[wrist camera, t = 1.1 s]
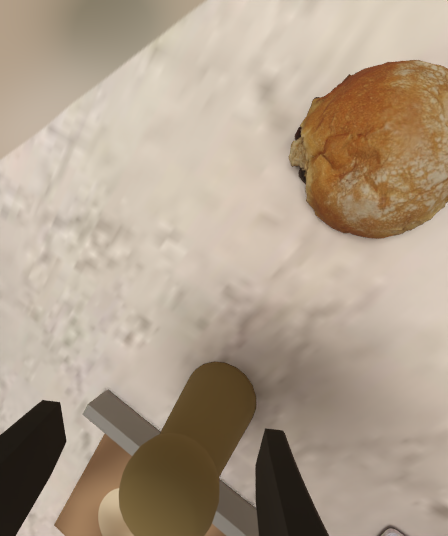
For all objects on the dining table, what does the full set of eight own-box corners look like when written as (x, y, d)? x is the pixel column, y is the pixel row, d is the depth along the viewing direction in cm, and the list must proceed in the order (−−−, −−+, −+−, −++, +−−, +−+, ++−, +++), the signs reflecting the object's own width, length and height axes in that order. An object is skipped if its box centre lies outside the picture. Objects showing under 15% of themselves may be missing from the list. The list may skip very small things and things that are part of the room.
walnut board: (236, 526, 25) (235, 533, 24) (163, 621, 28) (160, 629, 27) (112, 423, 27) (107, 427, 27) (58, 520, 30) (53, 526, 30)
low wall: (272, 522, 24) (269, 554, 21) (265, 532, 24) (260, 564, 21) (107, 389, 27) (87, 404, 25) (102, 399, 27) (82, 414, 25)
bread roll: (357, 249, 23) (435, 287, 16) (254, 180, 21) (289, 186, 13) (442, 137, 21) (579, 120, 14) (339, 44, 19) (438, -40, 11)
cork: (221, 445, 24) (156, 602, 14) (173, 390, 25) (77, 499, 15) (272, 404, 23) (243, 545, 12) (219, 346, 24) (149, 433, 13)
